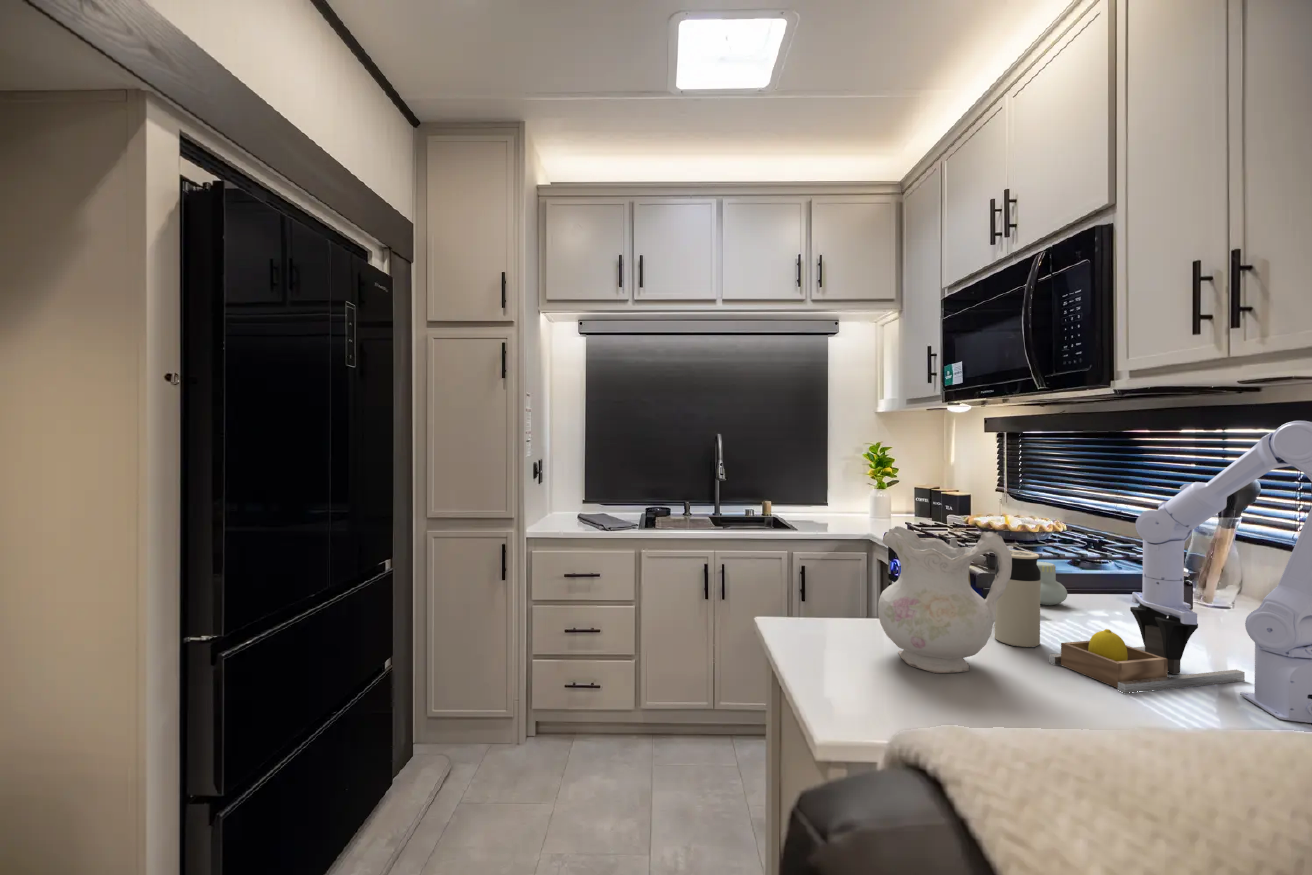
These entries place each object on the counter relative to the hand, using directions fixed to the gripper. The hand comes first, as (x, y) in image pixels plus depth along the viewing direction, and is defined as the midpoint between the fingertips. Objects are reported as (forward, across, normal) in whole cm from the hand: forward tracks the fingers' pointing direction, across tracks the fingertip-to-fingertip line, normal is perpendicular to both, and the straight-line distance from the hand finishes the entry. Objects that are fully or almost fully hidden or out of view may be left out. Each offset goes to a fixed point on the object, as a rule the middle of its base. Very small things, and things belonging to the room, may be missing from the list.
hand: (1162, 653), depth 110 cm
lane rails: (+3, -2, +5) cm, 6 cm away
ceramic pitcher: (+3, -4, +38) cm, 39 cm away
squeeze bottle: (+3, +30, +26) cm, 40 cm away
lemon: (+3, -5, +11) cm, 13 cm away
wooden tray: (+3, -3, +7) cm, 8 cm away
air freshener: (+3, +47, 0) cm, 47 cm away
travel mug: (+3, +12, +20) cm, 23 cm away
